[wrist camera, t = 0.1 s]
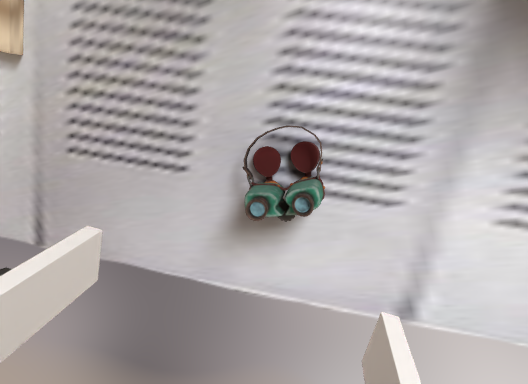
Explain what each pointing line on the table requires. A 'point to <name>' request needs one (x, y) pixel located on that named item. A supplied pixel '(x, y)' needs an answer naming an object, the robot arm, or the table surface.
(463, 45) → the table surface
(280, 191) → the binoculars
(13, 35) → the board
